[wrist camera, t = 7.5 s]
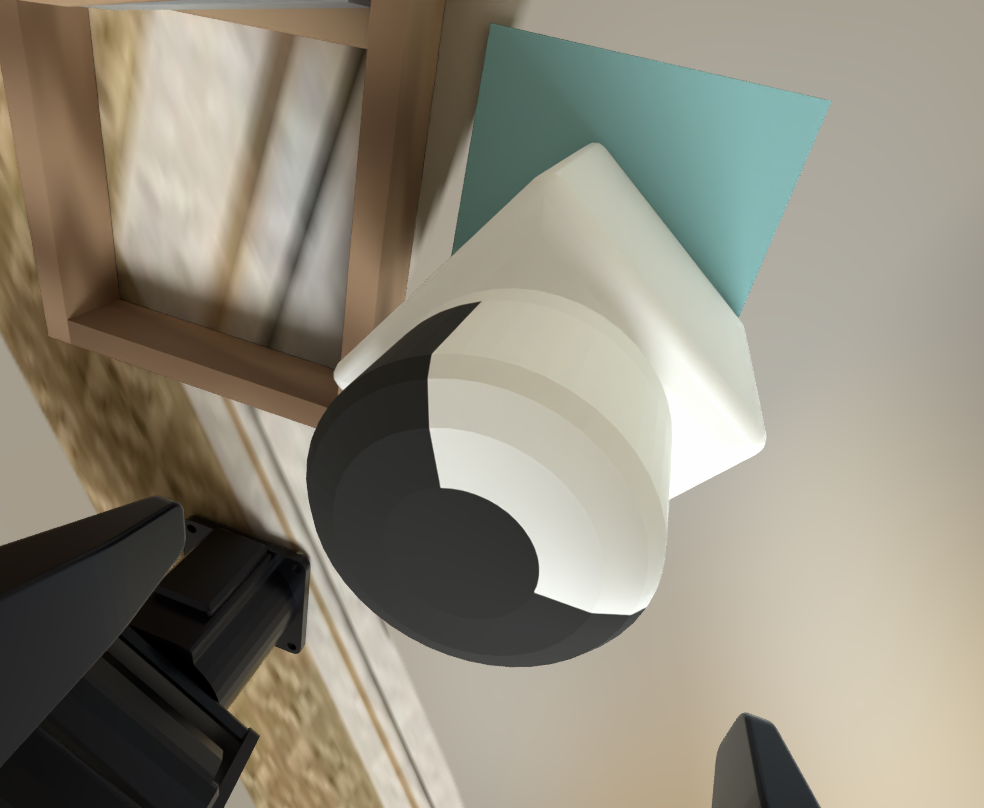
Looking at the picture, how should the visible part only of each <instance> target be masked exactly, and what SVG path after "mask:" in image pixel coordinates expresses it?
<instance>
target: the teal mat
mask: <svg viewBox="0 0 984 808" xmlns="http://www.w3.org/2000/svg"><path fill="white" fill-rule="evenodd" d="M830 103H831V101H829V100H825V99H821V98H816V97H812V96H808V95H803V94H799V93H795V92H790V91H786V90H781V89H777V88H773V87H768V86H763V85H759V84H755V83H751V82H747V81H742V80H738V79H733V78H729V77H725V76H720V75H716V74H712V73H707V72H703V71H698V70H694V69H690V68H685V67H681V66H676V65H672V64H668V63H664V62H659V61H655V60H650V59H646V58H642V57H637V56H633V55H629V54H624V53H620V52H616V51H611V50H606V49H603V48H598V47H594V46H590V45H585V44H580V43H576V42H572V41H568V40H563V39H559V38H555V37H550V36H546V35H542V34H537V33H533V32H528V31H524V30H520V29H515V28H511V27H507V26H502V25H498V24H494V23H491V24H490V30H489V36H488V42H487V48H486V54H485V60H484V66H483V71H482V77H481V83H480V89H479V95H478V101H477V107H476V113H475V119H474V125H473V131H472V137H471V143H470V148H469V154H468V161H467V167H466V173H465V178H464V184H463V190H462V196H461V202H460V208H459V214H458V220H457V226H456V231H455V238H454V243H453V250H452V255H451V257H452V256H453V255H454V254H455V253H456V252H457V251H458V250H459V249H460V248H461V247H462V246H463V245H464V244H465V243H466V242H467V241H469V240H470V239H471V238H472V237H473V236H474V235H475V234H476V233H477V232H478V231H479V230H480V229H481V228H482V227H483V226H484V225H485V224H487V223H488V222H489V221H490V220H491V219H492V218H493V217H494V216H495V215H496V214H497V213H498V212H499V211H500V210H501V209H502V208H504V207H505V206H506V205H507V204H508V203H509V202H510V201H511V200H512V199H513V198H514V197H515V196H516V195H517V194H518V193H519V192H521V191H522V190H523V189H524V188H525V187H526V186H527V185H528V184H529V183H530V182H531V181H532V180H533V179H534V178H535V177H537V176H538V175H540V174H542V173H543V172H545V171H546V170H548V169H550V168H551V167H553V166H554V165H556V164H558V163H559V162H561V161H562V160H564V159H565V158H567V157H569V156H570V155H572V154H573V153H575V152H577V151H578V150H580V149H581V148H583V147H585V146H586V145H588V144H590V143H592V142H593V143H600V144H601V145H603V146H604V147H605V148H606V149H607V151H608V152H609V153H610V154H611V156H612V157H613V158H614V160H615V161H616V162H617V163H618V165H619V166H620V167H621V169H622V170H623V171H624V172H625V174H626V175H627V176H628V177H629V179H630V180H631V181H632V183H633V184H634V185H635V186H636V188H637V189H638V190H639V192H640V193H641V194H642V195H643V197H644V198H645V199H646V201H647V202H648V203H649V204H650V206H651V207H652V208H653V209H654V211H655V212H656V213H657V215H658V216H659V217H660V218H661V220H662V221H663V222H664V224H665V225H666V226H667V227H668V229H669V230H670V231H671V233H672V234H673V235H674V236H675V238H676V239H677V240H678V242H679V243H680V244H681V245H682V247H683V248H684V249H685V250H686V252H687V253H688V254H689V256H690V257H691V258H692V259H693V261H694V262H695V263H696V265H697V266H698V267H699V268H700V270H701V271H702V272H703V274H704V275H705V276H706V277H707V279H708V280H709V281H710V282H711V284H712V285H713V286H714V288H715V289H716V290H717V291H718V293H719V294H720V295H721V297H722V298H723V299H724V300H725V302H726V303H727V304H728V306H729V307H730V308H731V309H732V311H733V312H734V313H735V315H736V316H737V317H738V318H739V315H740V313H741V311H742V308H743V306H744V304H745V301H746V299H747V297H748V294H749V292H750V290H751V287H752V285H753V283H754V281H755V278H756V276H757V274H758V271H759V269H760V266H761V264H762V262H763V259H764V257H765V255H766V252H767V250H768V248H769V246H770V243H771V241H772V239H773V236H774V234H775V232H776V229H777V227H778V225H779V222H780V220H781V218H782V215H783V213H784V210H785V208H786V205H787V204H788V201H789V199H790V197H791V194H792V192H793V190H794V187H795V185H796V183H797V180H798V178H799V176H800V173H801V171H802V169H803V166H804V164H805V162H806V160H807V157H808V155H809V152H810V150H811V148H812V146H813V143H814V141H815V138H816V136H817V134H818V131H819V129H820V127H821V125H822V122H823V120H824V118H825V115H826V113H827V111H828V108H829V106H830Z"/></svg>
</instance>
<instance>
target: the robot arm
mask: <svg viewBox="0 0 984 808" xmlns="http://www.w3.org/2000/svg"><path fill="white" fill-rule="evenodd" d="M183 548H184V555H185V556H184V557H183V558H182V559H181V560H180V561H179V562H178V563H177V564H176V565H174V566H173V567H172V568H171V566H172V565H173V564H174V562H175V561H176V560H177V558H178V557H179V556H180V554H181V552H182V550H183ZM170 568H171V569H170ZM169 569H170V570H169ZM309 580H310V563H309V561H308V560H307V559H306V558H305V557H304V556H302V555H299V554H297V553H294V552H292V551H289V550H286V549H284V548H281V547H278V546H276V545H273V544H270V543H268V542H265V541H262V540H260V539H257V538H254V537H252V536H249V535H246V534H244V533H241V532H239V531H236V530H233V529H231V528H228V527H225V526H223V525H220V524H217V523H215V522H212V521H209V520H207V519H204V518H201V517H199V516H195V515H191V516H190V517H188V518H187V519H186V520H185V521H184V509H183V506H182V505H181V503H179V502H177V501H174V500H172V499H169V498H166V497H164V496H158V495H157V496H152V497H148V498H145V499H142V500H139V501H136V502H133V503H130V504H127V505H124V506H121V507H118V508H115V509H112V510H109V511H106V512H103V513H100V514H97V515H94V516H91V517H87V518H85V519H81V520H78V521H75V522H72V523H69V524H66V525H63V526H60V527H57V528H54V529H51V530H48V531H45V532H42V533H39V534H35V535H33V536H30V537H26V538H24V539H20V540H17V541H14V542H11V543H8V544H5V545H2V546H0V808H224V806H225V804H226V802H227V800H228V798H229V796H230V794H231V792H232V790H233V788H234V787H235V785H236V783H237V781H238V779H239V777H240V775H241V773H242V771H243V769H244V767H245V765H246V763H247V761H248V759H249V757H250V755H251V753H252V751H253V749H254V747H255V745H256V743H257V741H258V739H259V737H260V735H258V734H257V733H256V732H255V731H254V730H253V729H252V728H247V727H246V726H244V725H243V724H242V723H241V722H240V721H239V720H238V719H236V718H235V717H234V716H233V715H232V714H231V713H230V712H228V711H227V710H228V708H229V707H230V706H231V704H232V703H233V701H234V700H235V699H236V697H237V696H238V695H239V693H240V692H241V691H242V689H243V688H244V687H245V685H246V684H247V682H248V681H249V680H250V678H251V677H252V676H253V674H254V673H255V672H256V670H257V669H258V668H259V666H260V665H261V663H262V662H263V661H264V659H265V658H266V657H267V655H268V654H269V653H270V651H271V650H272V649H273V647H274V646H276V647H278V648H281V649H283V650H286V651H288V652H291V653H294V654H298V653H299V652H300V651H301V650H302V649H303V647H304V645H305V637H306V623H307V608H308V594H309ZM712 808H821V807H820V805H819V804H818V802H817V800H816V798H815V796H814V795H813V793H812V791H811V789H810V788H809V786H808V784H807V782H806V780H805V778H804V777H803V775H802V773H801V771H800V769H799V768H798V766H797V764H796V762H795V761H794V759H793V757H792V755H791V753H790V751H789V750H788V748H787V746H786V744H785V742H784V741H783V739H782V737H781V735H780V733H779V732H778V730H777V728H776V727H775V726H774V725H773V723H771V722H770V721H768V720H766V719H763V718H760V717H757V716H755V715H752V714H749V713H742V714H741V715H740V716H739V717H738V718H737V719H736V721H735V722H734V724H733V725H732V727H731V728H730V730H729V732H728V733H727V735H726V736H725V738H724V739H723V741H722V742H721V744H720V746H719V749H718V752H717V757H716V764H715V776H714V787H713V798H712Z"/></svg>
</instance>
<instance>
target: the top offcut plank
mask: <svg viewBox="0 0 984 808" xmlns="http://www.w3.org/2000/svg"><path fill="white" fill-rule="evenodd" d="M21 1H28V2H36V3H43V4H51V5H58V6H66V7H74V6H91V5H108V4H125V3H143V2H160V1H177V0H21Z"/></svg>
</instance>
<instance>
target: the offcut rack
mask: <svg viewBox="0 0 984 808" xmlns="http://www.w3.org/2000/svg"><path fill="white" fill-rule="evenodd" d="M445 1H446V0H371V9H370V21H369V33H368V45H367V56H366V68H365V80H364V92H363V104H362V116H361V127H360V139H359V151H358V163H357V175H356V187H355V198H354V210H353V222H352V234H351V246H350V258H349V269H348V281H347V293H346V305H345V317H344V329H343V340H342V352H341V360H342V359H343V358H344V357H345V356H346V355H347V354H349V353H350V352H351V351H352V350H353V349H354V348H355V347H356V346H357V345H358V344H359V343H360V342H361V341H362V340H363V339H364V338H366V337H367V336H368V335H369V334H370V333H371V332H372V331H373V330H374V329H375V328H376V327H377V326H378V325H379V324H380V323H381V322H383V321H384V320H385V319H386V318H387V317H388V316H389V315H390V314H391V313H392V312H393V311H394V310H395V309H396V308H397V307H398V306H399V305H401V304H402V303H403V302H404V301H405V296H406V289H407V281H408V274H409V267H410V259H411V252H412V244H413V237H414V230H415V222H416V215H417V207H418V200H419V193H420V185H421V178H422V171H423V163H424V156H425V148H426V141H427V134H428V126H429V119H430V111H431V104H432V97H433V89H434V82H435V75H436V67H437V60H438V52H439V45H440V38H441V30H442V23H443V15H444V8H445ZM0 65H1V71H2V76H3V82H4V88H5V93H6V99H7V104H8V110H9V116H10V121H11V127H12V133H13V138H14V144H15V150H16V155H17V161H18V166H19V172H20V178H21V183H22V189H23V195H24V200H25V206H26V212H27V217H28V223H29V228H30V234H31V240H32V245H33V251H34V257H35V262H36V268H37V273H38V279H39V285H40V290H41V296H42V302H43V307H44V313H45V319H46V324H47V330H48V335H49V337H52V338H54V339H57V340H60V341H63V342H66V343H69V344H72V345H75V346H78V347H81V348H84V349H87V350H89V351H92V352H95V353H98V354H101V355H104V356H107V357H110V358H113V359H116V360H119V361H121V362H124V363H127V364H130V365H133V366H136V367H139V368H142V369H145V370H148V371H151V372H154V373H156V374H159V375H162V376H165V377H168V378H171V379H174V380H177V381H180V382H183V383H186V384H188V385H191V386H194V387H197V388H200V389H203V390H206V391H209V392H212V393H215V394H218V395H220V396H223V397H226V398H229V399H232V400H235V401H238V402H241V403H244V404H247V405H250V406H253V407H255V408H258V409H261V410H264V411H267V412H270V413H273V414H276V415H279V416H282V417H285V418H287V419H290V420H293V421H296V422H299V423H302V424H305V425H308V426H311V427H314V428H316V427H317V425H318V422H319V420H320V419H321V417H322V416H323V414H324V413H325V411H326V409H327V408H328V406H329V405H330V404H331V403H332V401H333V400H334V399H335V398H336V397H337V396H338V395H339V394H340V393H341V392H342V391H343V390H342V389H341V388H340V387H339V386H338V385H337V383H336V381H335V380H334V371H335V370H334V369H331V368H327V367H324V366H321V365H318V364H315V363H312V362H309V361H306V360H303V359H300V358H297V357H294V356H291V355H288V354H285V353H282V352H278V351H275V350H272V349H269V348H266V347H263V346H260V345H257V344H254V343H251V342H248V341H245V340H242V339H239V338H236V337H233V336H230V335H226V334H223V333H220V332H217V331H214V330H211V329H208V328H205V327H202V326H199V325H196V324H193V323H190V322H187V321H184V320H181V319H178V318H174V317H171V316H168V315H165V314H162V313H159V312H156V311H153V310H150V309H147V308H144V307H141V306H138V305H135V304H132V303H129V302H126V301H122V300H120V296H119V287H118V278H117V269H116V260H115V251H114V242H113V233H112V224H111V215H110V206H109V197H108V188H107V179H106V170H105V161H104V152H103V142H102V133H101V124H100V115H99V106H98V97H97V88H96V79H95V70H94V61H93V52H92V43H91V34H90V25H89V16H88V7H81V6H74V7H66V6H58V5H51V4H43V3H36V2H28V1H21V0H0Z"/></svg>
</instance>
